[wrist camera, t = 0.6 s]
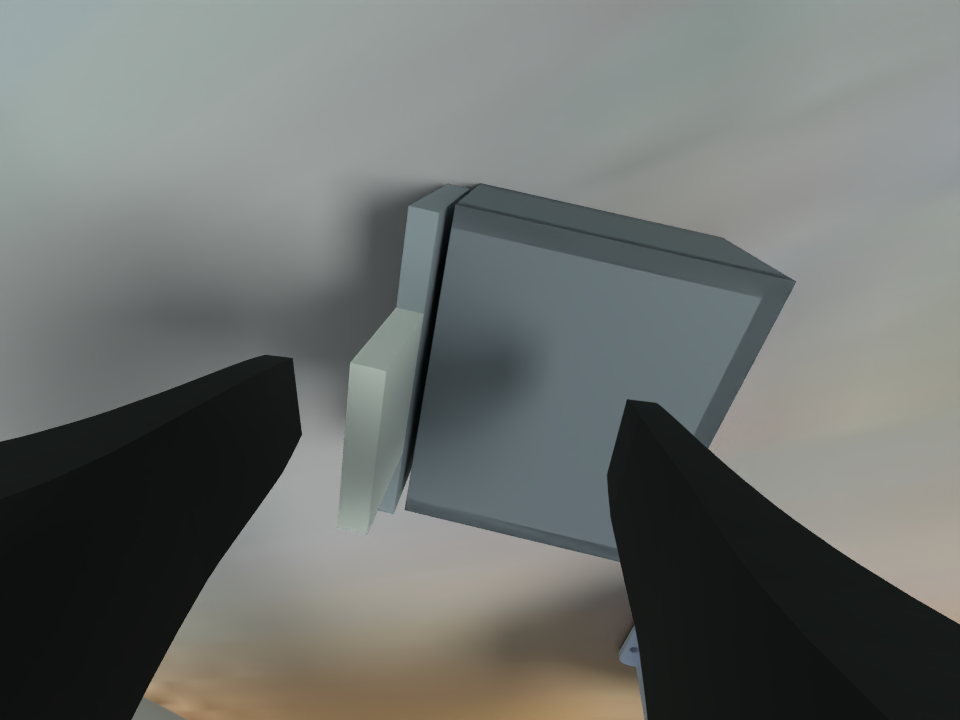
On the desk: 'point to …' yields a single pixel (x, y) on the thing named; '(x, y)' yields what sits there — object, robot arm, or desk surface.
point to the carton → (573, 358)
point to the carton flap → (395, 371)
